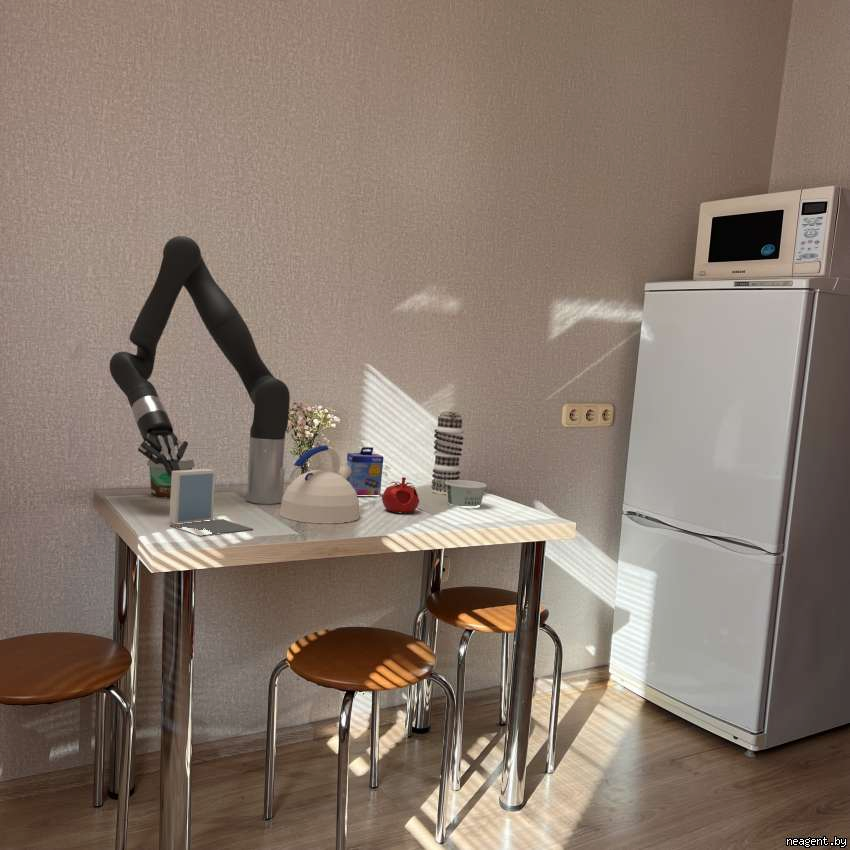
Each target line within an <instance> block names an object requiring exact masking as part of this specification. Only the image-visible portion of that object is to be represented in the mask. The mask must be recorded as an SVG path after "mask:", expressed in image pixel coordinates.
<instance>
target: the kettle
mask: <svg viewBox="0 0 850 850" xmlns="http://www.w3.org/2000/svg"><path fill="white" fill-rule="evenodd" d="M325 451H327V452H328V453H329V456H330V458H331V468H330V470H325V469H314V470H310V471H307V472H303V473H302V474H301V475H299V476H297V477H296V478H294V479H293V480H292V482H290V484H288V486H287V487H286V489H285V491H284V492H283V497H282V503H280V508H279V509H280V510H279V514H280V516H281V517H283V518H284V519H288V520H290V521H294V522H301V523H307V524H318V523H321V524H322V525H323V524H324V525H326V524H327V525H328V524H329V525H334V524H333V523H339V524H345V523H344V522H349V523H352V522H351V521H353V522H355V521H354V520H356V521H358V520H359V519H360V518H359V516H360V500H359V497H357V494H356V491H355V490H354V488H353V487H352V485H351V484H350V483H349V482H348V481H347V480H346V479H347V477H348V476H349V474H351V468H350V467H349V466H347V464H344V463H343V464H341V459H340V456H339V453H338V452H337V450H336V449H335V448H334V447H332V446H330V445H329V446H328V445H325V444H324V445H320V446H316V447H314V448H311V449H310V450H307V451H305V452H304V453H303V454H302V455H301V456H299V458H297V460H296V461H295V462H294V463H293V465H294V466H296V467H299V468H300V467H303V465H304V464H305V463H306V461H307V460H309V459H310V458H311V457H312V456H314V455H316V454H317V453H320V452H325ZM358 518H359V519H358ZM357 519H358V520H357ZM321 524H320V525H321Z"/></svg>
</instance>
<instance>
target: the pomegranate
mask: <svg viewBox="0 0 850 850" xmlns="http://www.w3.org/2000/svg"><path fill="white" fill-rule="evenodd" d="M406 480H407V477H405V476H403V477H401V482H400V481H391V482H389V483H387V484H392V485H389V486H387V487H386V488H385V490H384V492H383V494H382V495H381V501H382V504H383V506H384V508H385V509H386V510H387V511H389V512H391V511H393V513H395V512H401V513H400V514H407V513H406V512H412V513H413V511H414V512H415V511H416V510H417V507H418V506H419V504H420V498H419V494H418V493H417V490H416V487H415V485H412V482H406ZM405 482H406V483H405ZM393 483H394V484H393Z"/></svg>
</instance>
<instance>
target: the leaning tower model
mask: <svg viewBox="0 0 850 850" xmlns="http://www.w3.org/2000/svg"><path fill="white" fill-rule="evenodd" d="M437 418H438V420H437V426H436V429H434V430H433V431H434V435H433V437H434V438H435V440H434V441H433V443H434V445H433V449H434V450H435V451H434V452H433V455H434V457H435V459H434V464H433V469H432V472H433V474H431V475H432V476H431V477H432V478H433V479H432V480H431V490H436V491H440V492H441V491H442V492H447V484H446V483H445V482H446V481H449V480H460V476H459V475H460V474H461V472H460V458H461V457H462V455H463V454H462V453H461V452H462V451H463V448H462V447H460V446H462V445H464V442H463V440H464V439H465V438H464V437H463V436H462V434H463V420H464V418H463V417H462V414H461V413H459V412H455V411H442V412H441V413H440V414H439V415H438V416H437Z"/></svg>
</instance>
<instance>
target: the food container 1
mask: <svg viewBox="0 0 850 850" xmlns="http://www.w3.org/2000/svg"><path fill="white" fill-rule="evenodd" d="M146 463H147V464H146V466H147V467H149V477H150V478H149V479H150V495H151V496H152V495H153V496H152V497H154V496H156V498H159V497H167V498H166V499H170V497H171V477H170V476H169V475H168V474H167V472H166V469H165V467H164V466H163V465H162V464H160V463H159V464H155V463H154V462H153V461H151V460H150V459H149V458H148V460H147V462H146ZM178 465H179V468H180V470H193V468H195V461H194V459H193V458H192V459H188V460H180V461H179V463H178Z"/></svg>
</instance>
